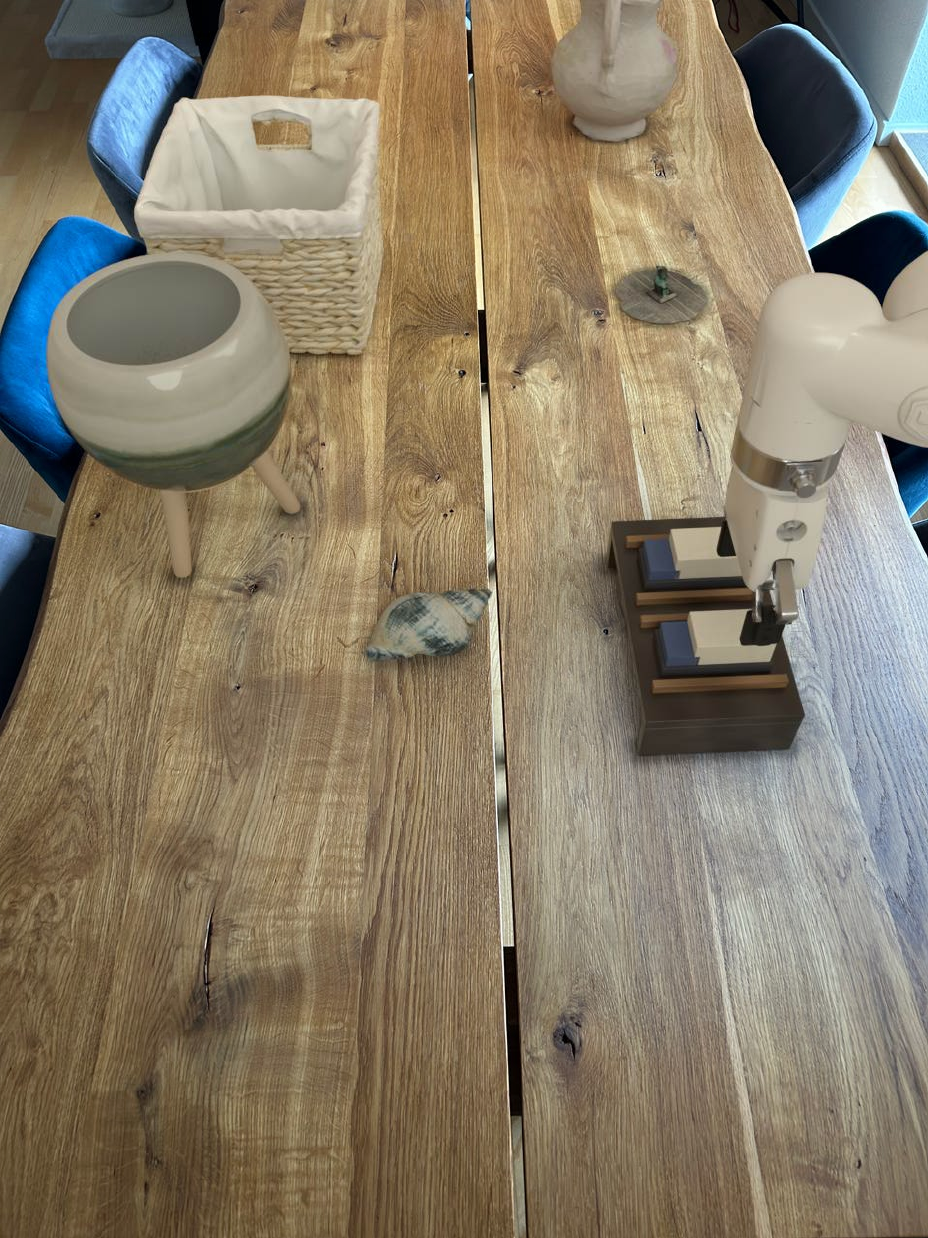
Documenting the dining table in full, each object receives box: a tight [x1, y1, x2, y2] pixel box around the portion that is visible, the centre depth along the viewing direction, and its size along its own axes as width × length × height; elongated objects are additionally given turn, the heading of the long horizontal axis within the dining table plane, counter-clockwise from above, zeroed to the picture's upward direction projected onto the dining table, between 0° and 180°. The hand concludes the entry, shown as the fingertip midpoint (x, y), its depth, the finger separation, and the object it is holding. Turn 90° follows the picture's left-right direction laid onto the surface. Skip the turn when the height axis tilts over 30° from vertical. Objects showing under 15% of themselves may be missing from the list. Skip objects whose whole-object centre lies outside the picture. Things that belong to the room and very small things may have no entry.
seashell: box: [364, 588, 493, 663], centre depth 100 cm, size 6×8×12 cm
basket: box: [133, 94, 385, 356], centre depth 128 cm, size 27×27×22 cm
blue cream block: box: [654, 609, 776, 676], centre depth 91 cm, size 10×4×4 cm, turn 92°
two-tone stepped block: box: [638, 527, 746, 590], centre depth 97 cm, size 10×4×4 cm, turn 92°
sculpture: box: [615, 265, 707, 325], centre depth 136 cm, size 12×9×8 cm
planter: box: [45, 253, 301, 579], centre depth 102 cm, size 22×22×28 cm
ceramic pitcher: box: [551, 0, 679, 143], centre depth 155 cm, size 22×20×25 cm
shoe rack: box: [605, 516, 806, 757], centre depth 98 cm, size 14×24×7 cm, turn 2°
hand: (746, 596), depth 86 cm, fingers open, 9 cm apart
